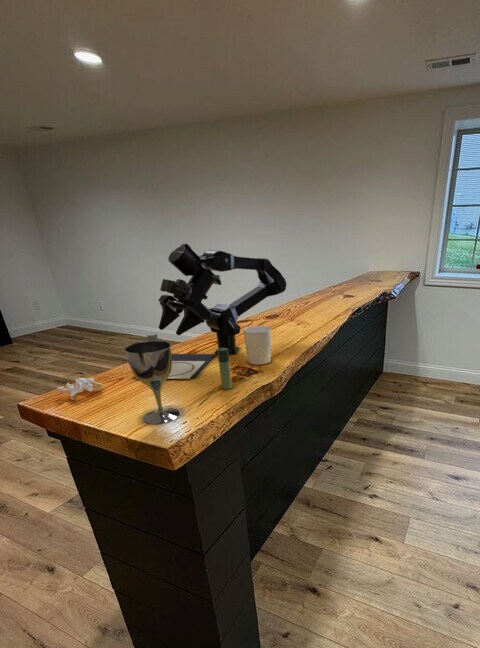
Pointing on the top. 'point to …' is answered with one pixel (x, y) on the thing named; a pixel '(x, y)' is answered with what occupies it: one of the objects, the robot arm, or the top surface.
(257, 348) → the white cup
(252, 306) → the robot arm
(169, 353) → the wine glass
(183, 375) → the sketch pad
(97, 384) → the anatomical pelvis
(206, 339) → the top surface
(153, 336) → the cylinder
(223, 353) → the sage-green marker
